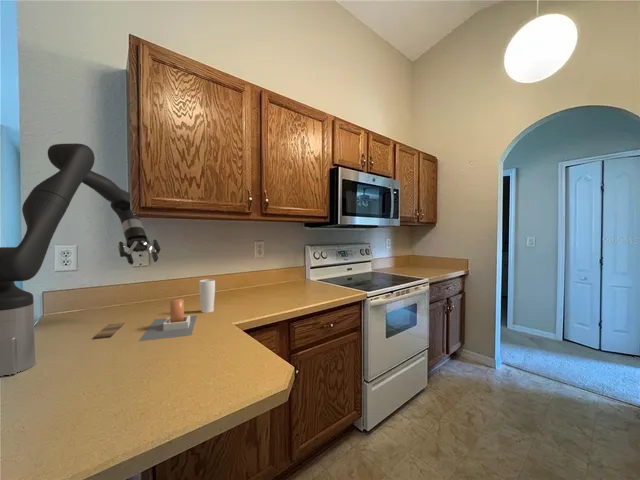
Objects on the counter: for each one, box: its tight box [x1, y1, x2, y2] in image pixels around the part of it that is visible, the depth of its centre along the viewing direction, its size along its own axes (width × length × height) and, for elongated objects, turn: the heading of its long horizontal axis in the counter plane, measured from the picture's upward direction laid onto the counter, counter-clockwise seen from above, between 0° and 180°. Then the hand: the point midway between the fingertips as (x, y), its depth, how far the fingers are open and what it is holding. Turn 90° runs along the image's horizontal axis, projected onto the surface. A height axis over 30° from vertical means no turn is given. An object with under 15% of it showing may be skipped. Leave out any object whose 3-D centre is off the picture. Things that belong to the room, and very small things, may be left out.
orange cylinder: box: [169, 298, 185, 323], centre depth 107 cm, size 5×5×10 cm
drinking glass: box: [198, 278, 216, 314], centre depth 128 cm, size 7×7×15 cm
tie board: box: [138, 315, 197, 342], centre depth 107 cm, size 24×16×4 cm, turn 20°
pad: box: [93, 322, 126, 340], centre depth 106 cm, size 14×14×1 cm
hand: (144, 262), depth 114 cm, fingers open, 8 cm apart
